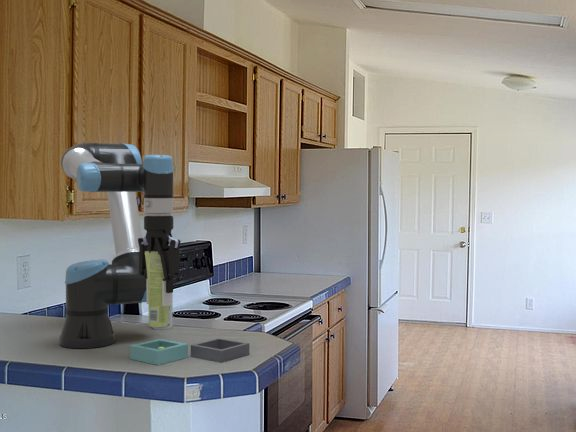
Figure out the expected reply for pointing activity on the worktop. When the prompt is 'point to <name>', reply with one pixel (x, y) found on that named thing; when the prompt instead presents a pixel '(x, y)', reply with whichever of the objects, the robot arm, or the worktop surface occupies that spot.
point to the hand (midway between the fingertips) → (159, 304)
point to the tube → (155, 290)
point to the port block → (158, 351)
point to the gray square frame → (220, 349)
